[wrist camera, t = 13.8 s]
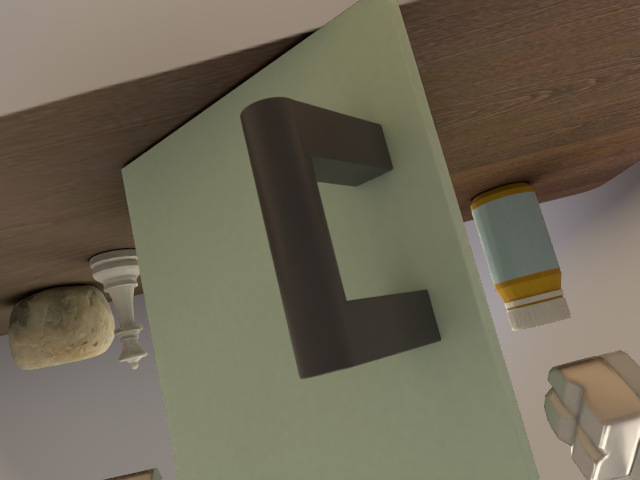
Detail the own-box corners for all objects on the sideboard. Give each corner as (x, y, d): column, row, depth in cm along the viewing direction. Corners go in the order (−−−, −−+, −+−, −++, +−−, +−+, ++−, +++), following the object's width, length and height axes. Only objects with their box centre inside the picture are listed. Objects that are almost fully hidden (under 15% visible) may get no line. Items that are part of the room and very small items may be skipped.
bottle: (527, 176, 59) (573, 317, 56) (534, 186, 66) (576, 314, 63) (462, 198, 62) (503, 334, 59) (475, 206, 68) (513, 329, 66)
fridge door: (8, 157, 27) (64, 553, 24) (269, -90, 16) (442, 576, 13) (133, 170, 32) (194, 496, 29) (394, -10, 21) (541, 478, 18)
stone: (-26, 340, 52) (71, 397, 53) (49, 250, 56) (136, 305, 58) (-10, 350, 61) (73, 398, 62) (54, 271, 65) (129, 319, 67)
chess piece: (139, 258, 53) (158, 364, 51) (88, 265, 51) (106, 376, 50) (143, 245, 49) (164, 360, 47) (89, 253, 47) (108, 373, 46)
